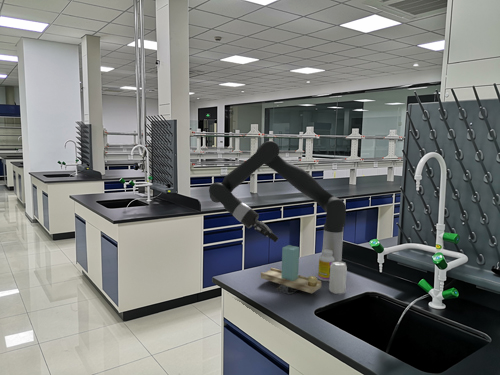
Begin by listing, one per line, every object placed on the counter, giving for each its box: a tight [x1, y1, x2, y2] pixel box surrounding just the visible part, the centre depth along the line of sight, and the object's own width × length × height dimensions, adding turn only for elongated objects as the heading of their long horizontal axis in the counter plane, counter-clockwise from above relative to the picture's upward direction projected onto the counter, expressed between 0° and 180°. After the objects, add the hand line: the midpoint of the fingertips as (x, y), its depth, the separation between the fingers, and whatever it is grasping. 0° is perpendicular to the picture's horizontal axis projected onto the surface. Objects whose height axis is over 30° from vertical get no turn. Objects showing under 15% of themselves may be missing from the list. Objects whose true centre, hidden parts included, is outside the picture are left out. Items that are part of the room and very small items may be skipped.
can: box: [328, 260, 348, 295], centre depth 146 cm, size 6×6×12 cm
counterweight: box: [307, 275, 318, 287], centre depth 142 cm, size 4×4×3 cm
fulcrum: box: [275, 284, 299, 296], centre depth 149 cm, size 7×11×2 cm, turn 143°
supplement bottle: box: [317, 249, 335, 282], centre depth 159 cm, size 7×7×13 cm
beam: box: [260, 267, 322, 294], centre depth 149 cm, size 24×8×2 cm, turn 53°
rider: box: [281, 244, 300, 281], centre depth 148 cm, size 5×5×13 cm
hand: (277, 240), depth 153 cm, fingers closed
